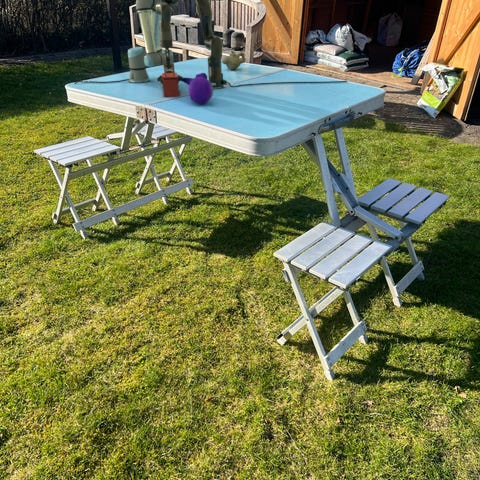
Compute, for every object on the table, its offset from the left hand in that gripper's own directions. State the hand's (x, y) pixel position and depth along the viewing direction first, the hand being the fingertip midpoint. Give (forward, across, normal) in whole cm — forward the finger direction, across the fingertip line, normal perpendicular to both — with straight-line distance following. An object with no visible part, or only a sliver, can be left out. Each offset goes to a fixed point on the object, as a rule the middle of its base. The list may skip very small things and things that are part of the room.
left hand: (170, 81), depth 301 cm
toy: (+31, -16, -7) cm, 36 cm away
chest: (+5, 0, -7) cm, 9 cm away
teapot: (-74, -53, -7) cm, 92 cm away
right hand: (+11, 0, +10) cm, 15 cm away
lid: (+6, 0, +4) cm, 7 cm away
